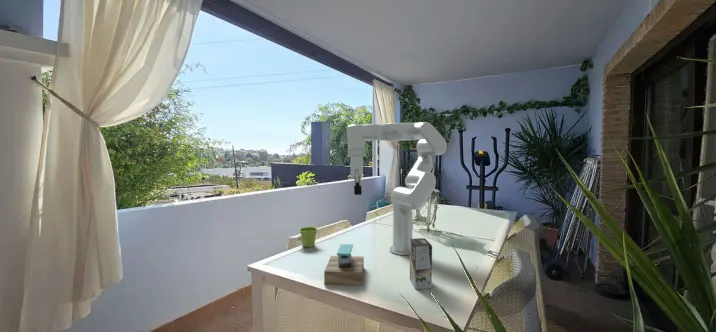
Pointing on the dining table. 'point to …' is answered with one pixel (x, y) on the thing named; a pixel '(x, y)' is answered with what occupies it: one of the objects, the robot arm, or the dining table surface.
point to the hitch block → (344, 272)
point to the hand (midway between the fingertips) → (358, 194)
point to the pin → (344, 261)
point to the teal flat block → (345, 250)
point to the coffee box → (421, 263)
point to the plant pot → (308, 236)
